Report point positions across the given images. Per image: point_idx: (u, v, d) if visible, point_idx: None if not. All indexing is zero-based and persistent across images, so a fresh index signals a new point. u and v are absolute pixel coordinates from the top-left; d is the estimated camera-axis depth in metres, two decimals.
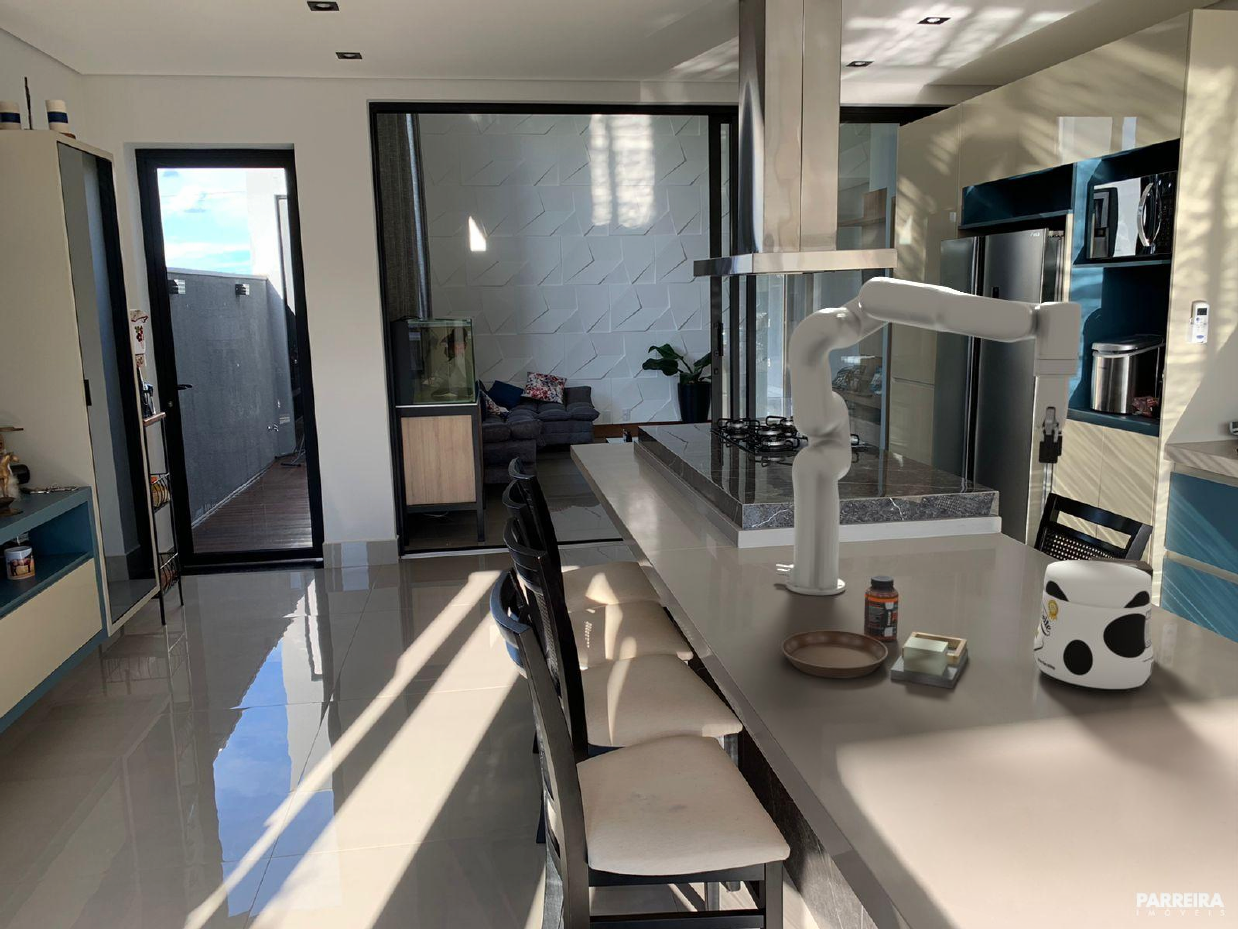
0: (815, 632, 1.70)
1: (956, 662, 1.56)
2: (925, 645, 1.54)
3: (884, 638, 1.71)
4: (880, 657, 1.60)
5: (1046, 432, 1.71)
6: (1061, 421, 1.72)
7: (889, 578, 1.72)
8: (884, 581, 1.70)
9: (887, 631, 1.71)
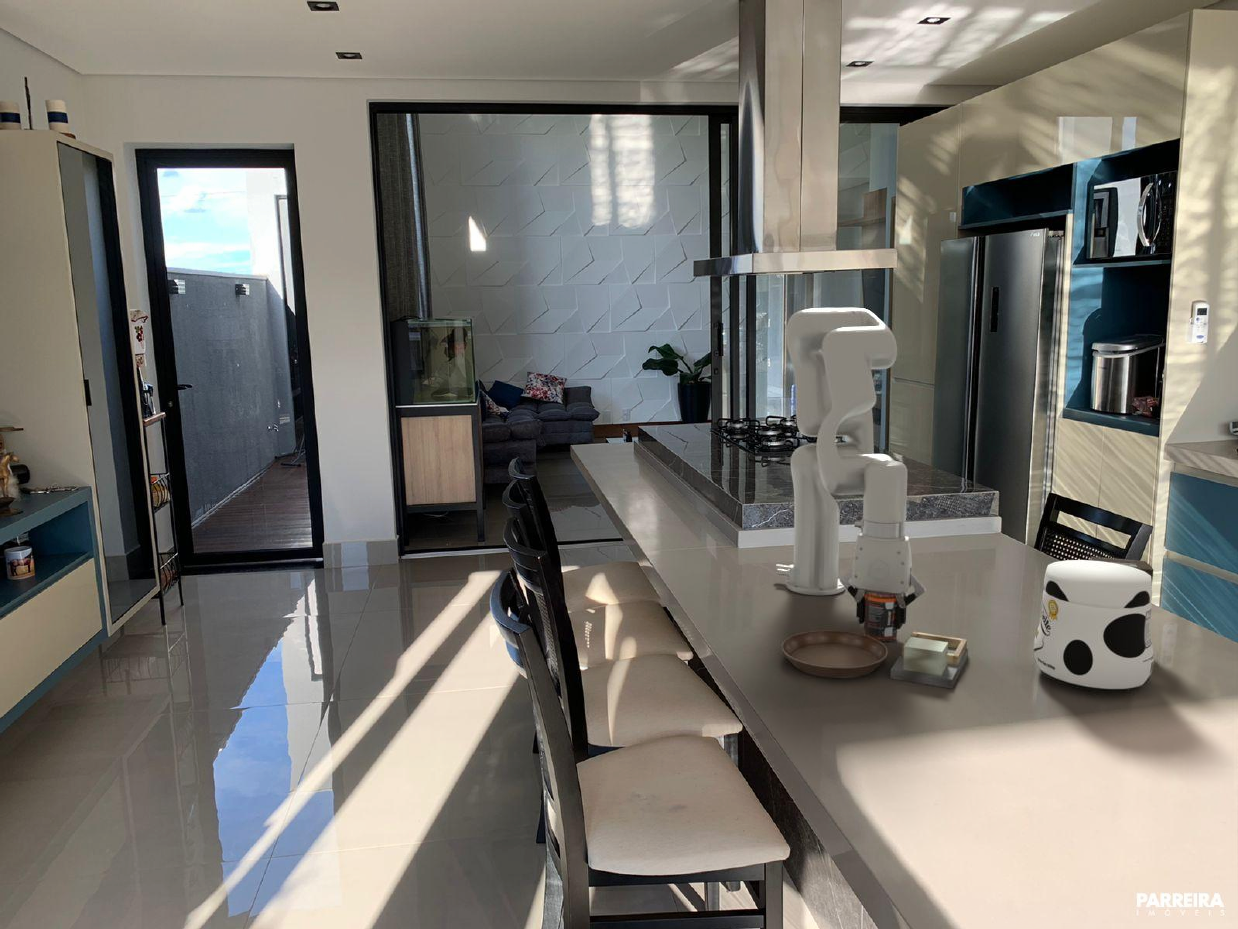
0: (815, 632, 1.70)
1: (956, 662, 1.56)
2: (925, 645, 1.54)
3: (884, 638, 1.71)
4: (880, 657, 1.60)
5: (915, 598, 1.69)
6: None
7: None
8: None
9: (887, 631, 1.71)
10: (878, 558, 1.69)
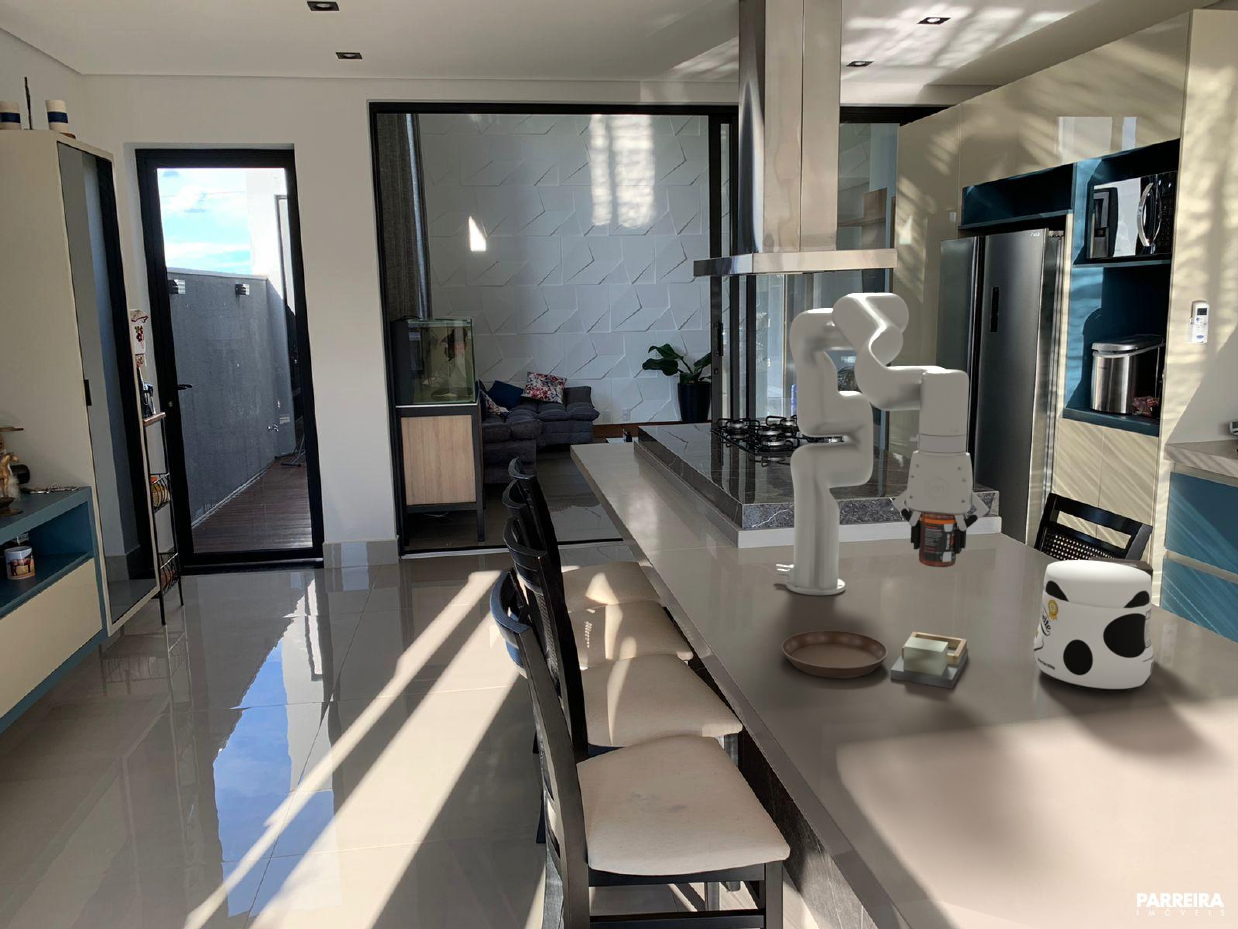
0: (815, 632, 1.70)
1: (956, 662, 1.56)
2: (925, 645, 1.54)
3: (942, 563, 1.57)
4: (880, 657, 1.60)
5: None
6: None
7: None
8: None
9: (945, 556, 1.56)
10: (936, 475, 1.55)
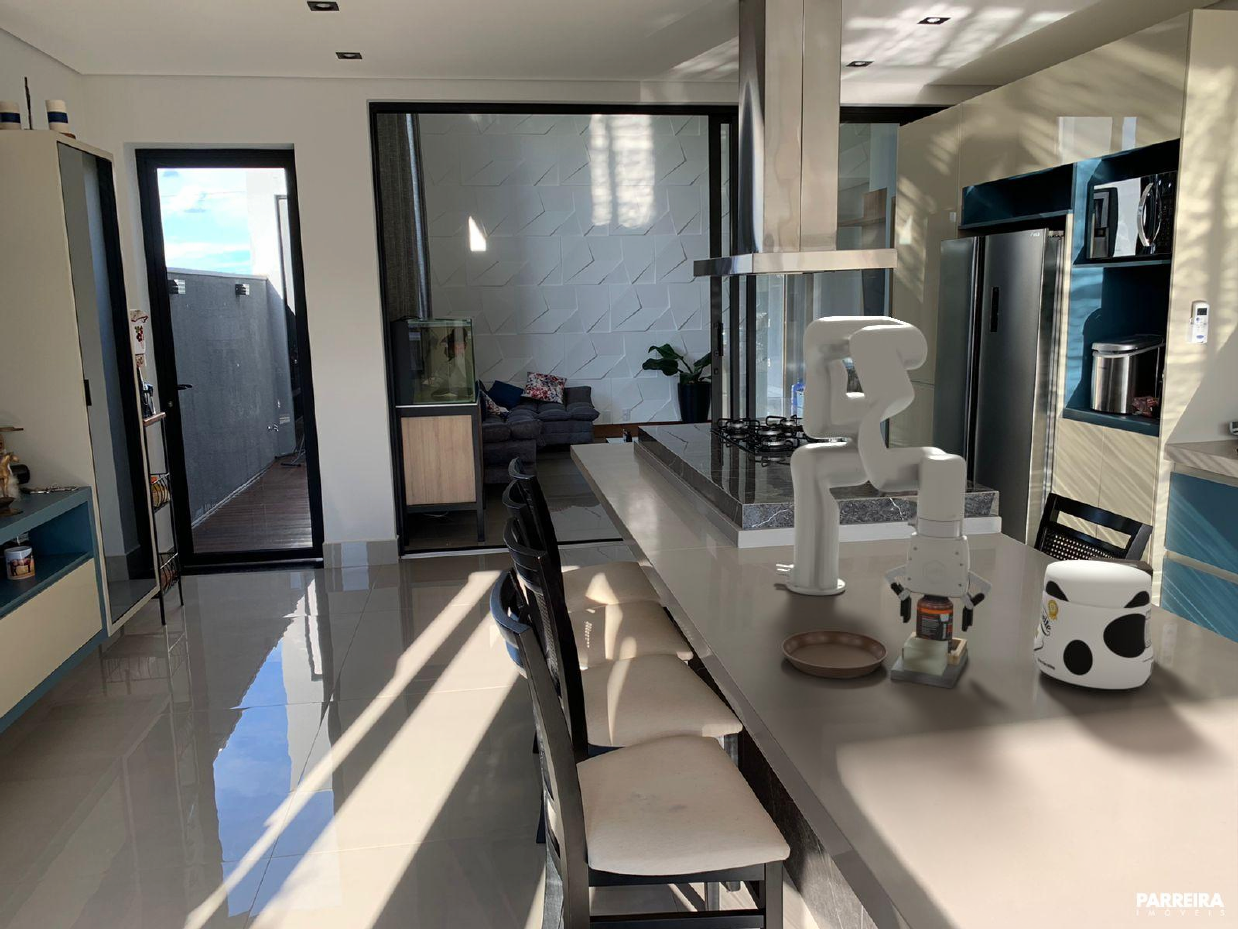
0: (815, 632, 1.70)
1: (956, 662, 1.56)
2: (925, 645, 1.54)
3: None
4: (880, 657, 1.60)
5: (984, 597, 1.56)
6: None
7: None
8: None
9: None
10: (934, 559, 1.57)
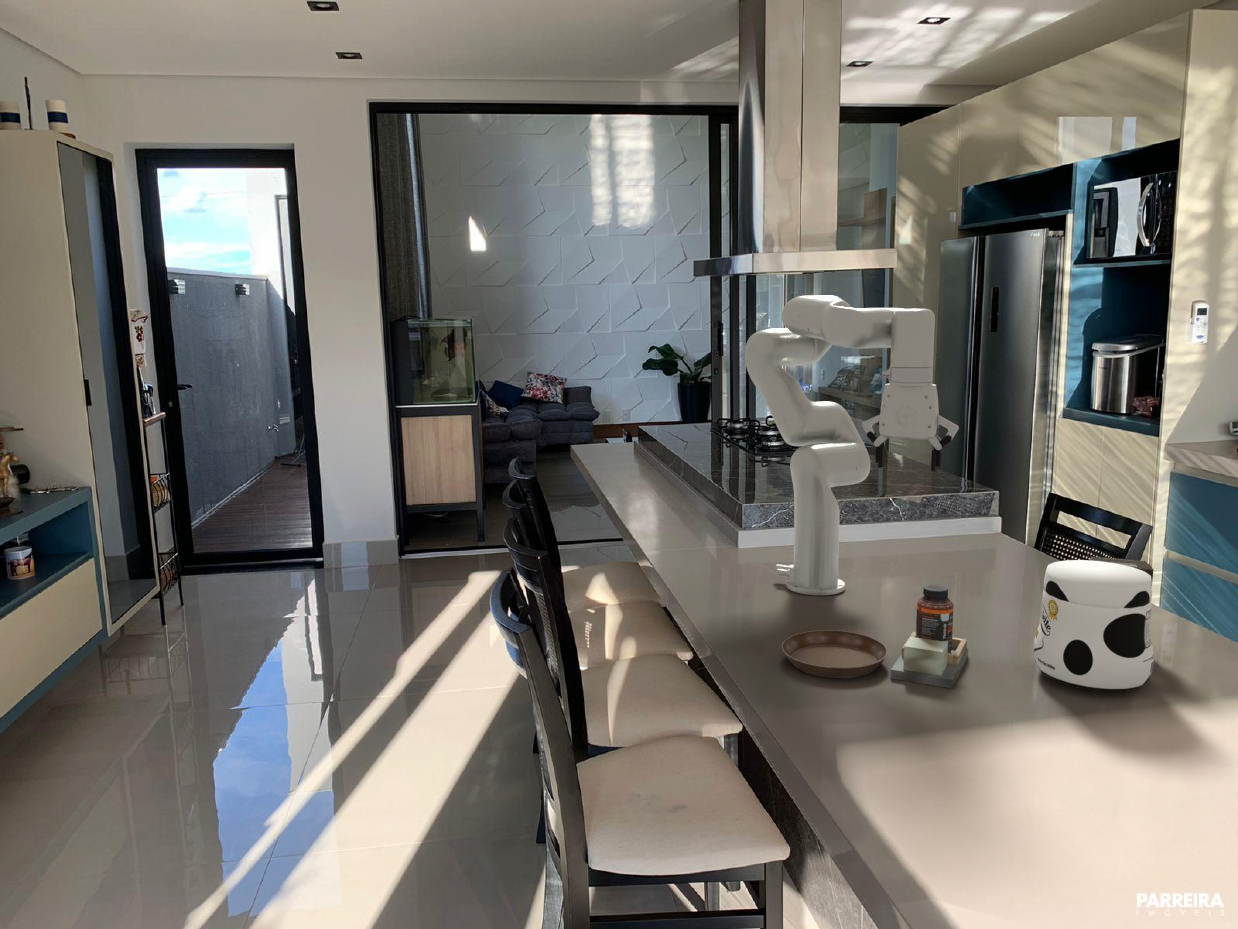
0: (815, 632, 1.70)
1: (956, 662, 1.56)
2: (925, 645, 1.54)
3: None
4: (880, 657, 1.60)
5: (951, 439, 1.71)
6: (937, 427, 1.74)
7: (943, 588, 1.60)
8: (939, 591, 1.59)
9: None
10: (906, 404, 1.71)
